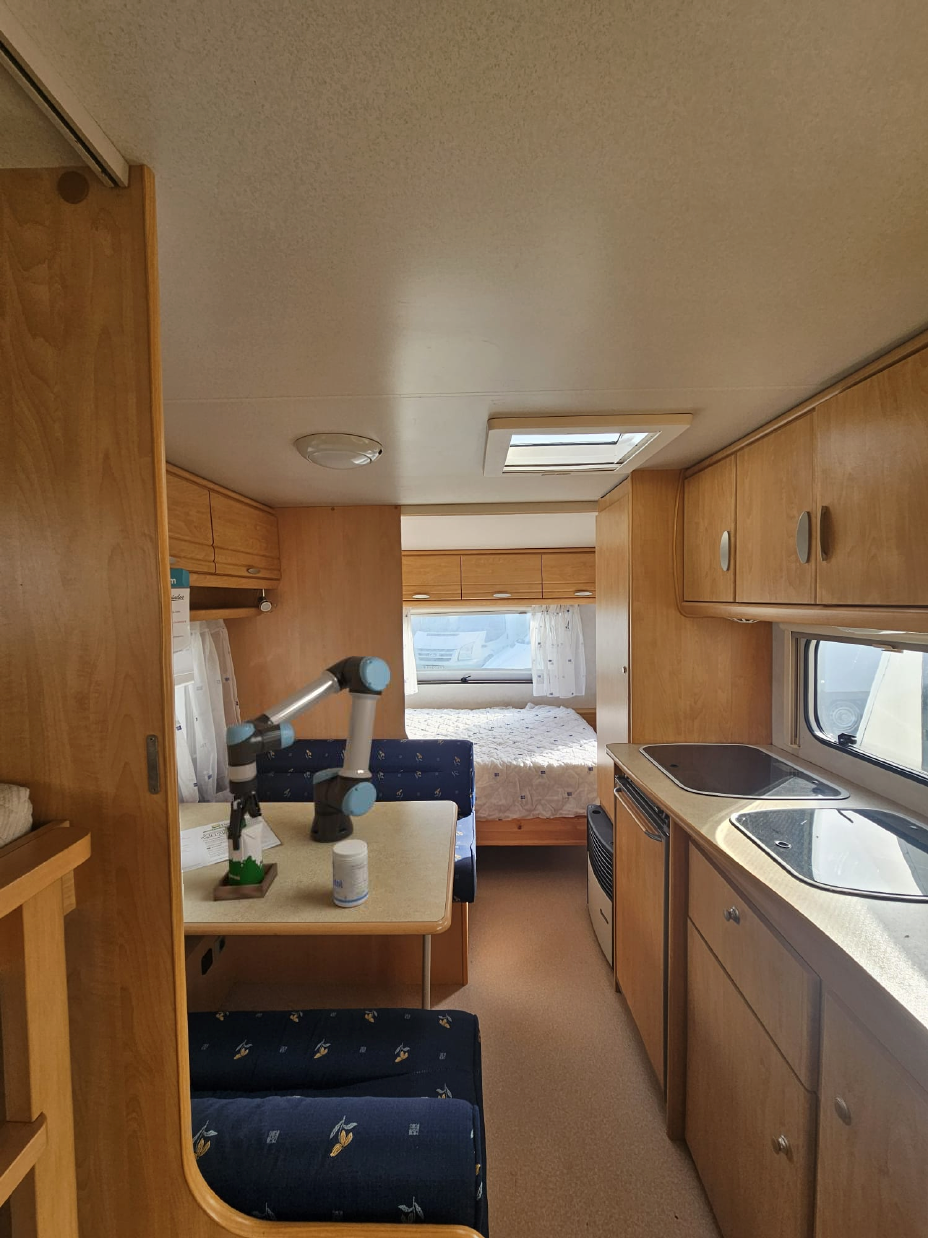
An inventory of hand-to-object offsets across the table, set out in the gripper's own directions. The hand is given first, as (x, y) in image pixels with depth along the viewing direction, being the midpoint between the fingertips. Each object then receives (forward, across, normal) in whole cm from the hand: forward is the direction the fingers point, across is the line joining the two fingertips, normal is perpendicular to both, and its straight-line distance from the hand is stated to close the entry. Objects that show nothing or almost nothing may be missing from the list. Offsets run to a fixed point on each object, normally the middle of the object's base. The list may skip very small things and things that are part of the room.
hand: (247, 849), depth 153 cm
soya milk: (+10, +1, 0) cm, 11 cm away
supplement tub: (+11, +11, +32) cm, 35 cm away
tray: (+11, 0, 0) cm, 11 cm away
